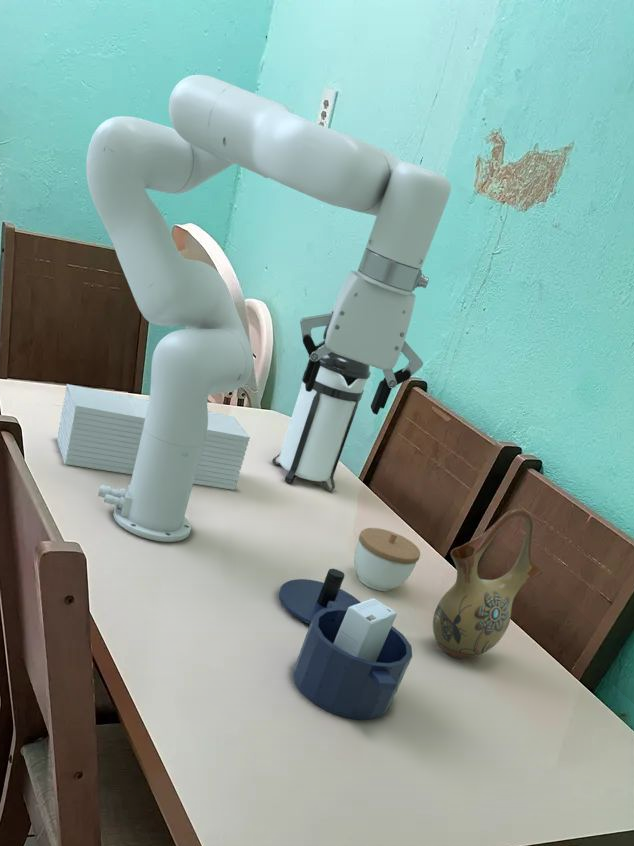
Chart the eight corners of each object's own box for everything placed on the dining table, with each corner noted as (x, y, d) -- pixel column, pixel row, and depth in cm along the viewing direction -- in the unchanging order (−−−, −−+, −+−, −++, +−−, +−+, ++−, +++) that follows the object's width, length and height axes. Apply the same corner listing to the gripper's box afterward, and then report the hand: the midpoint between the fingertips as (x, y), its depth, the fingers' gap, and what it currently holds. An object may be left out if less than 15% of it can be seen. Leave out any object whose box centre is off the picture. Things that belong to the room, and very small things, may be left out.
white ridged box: (64, 464, 151) (75, 405, 146) (56, 440, 159) (66, 383, 154) (234, 490, 165) (250, 437, 160) (219, 467, 174) (233, 416, 168)
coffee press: (349, 486, 188) (399, 350, 174) (314, 497, 175) (364, 351, 161) (285, 453, 194) (328, 318, 180) (246, 461, 181) (288, 317, 167)
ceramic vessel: (423, 664, 130) (491, 514, 118) (399, 631, 137) (462, 486, 125) (511, 673, 136) (584, 532, 124) (485, 640, 143) (552, 504, 131)
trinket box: (401, 605, 145) (422, 557, 140) (341, 583, 145) (360, 533, 140) (406, 581, 154) (426, 534, 150) (349, 559, 154) (367, 512, 150)
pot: (318, 730, 107) (341, 675, 103) (275, 643, 121) (293, 591, 117) (412, 735, 112) (437, 682, 108) (360, 651, 127) (380, 602, 123)
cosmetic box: (342, 669, 120) (372, 595, 114) (367, 687, 118) (399, 612, 112) (316, 681, 115) (346, 604, 109) (341, 699, 113) (373, 622, 107)
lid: (294, 631, 126) (308, 592, 123) (266, 580, 137) (278, 543, 134) (381, 640, 132) (396, 603, 129) (347, 591, 143) (361, 555, 140)
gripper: (444, 290, 115) (395, 411, 124) (322, 245, 112) (280, 372, 120) (455, 301, 109) (402, 428, 117) (325, 253, 106) (281, 387, 114)
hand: (341, 400), depth 119 cm, fingers open, 9 cm apart
